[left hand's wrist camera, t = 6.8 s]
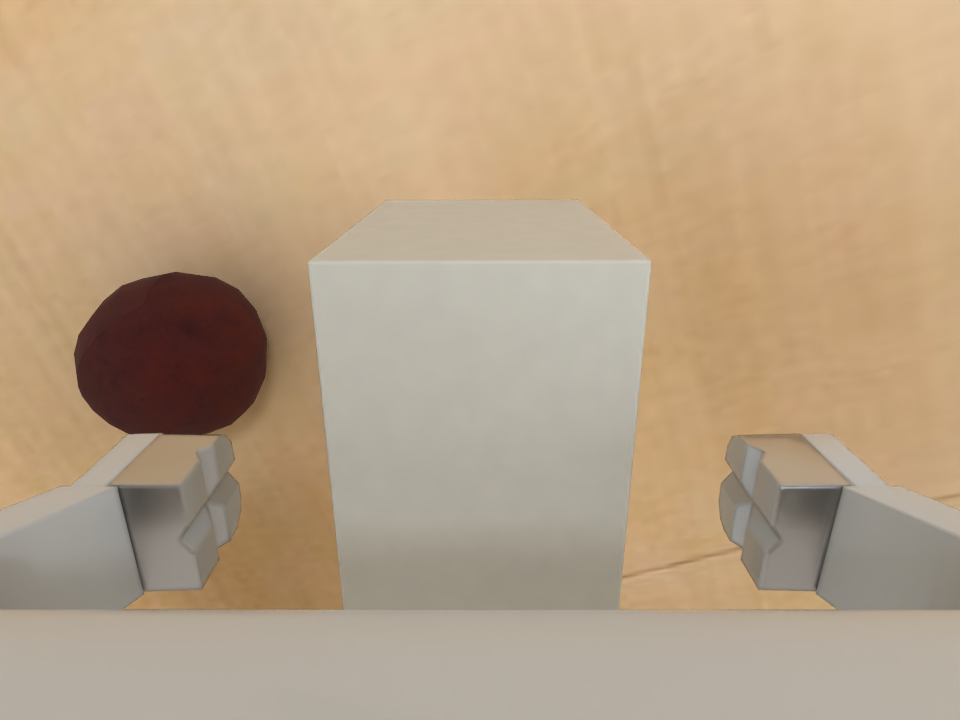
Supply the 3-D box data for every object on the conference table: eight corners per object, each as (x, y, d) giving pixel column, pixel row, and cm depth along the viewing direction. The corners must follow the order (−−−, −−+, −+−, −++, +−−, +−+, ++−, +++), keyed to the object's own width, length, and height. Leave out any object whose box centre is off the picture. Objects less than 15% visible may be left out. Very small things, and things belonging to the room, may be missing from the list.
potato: (105, 336, 31) (2, 396, 24) (194, 222, 29) (108, 252, 22) (227, 429, 33) (163, 506, 26) (319, 326, 31) (274, 383, 24)
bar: (385, 199, 17) (306, 261, 10) (579, 199, 17) (653, 260, 10) (423, 853, 27) (397, 1138, 20) (546, 854, 27) (569, 1140, 20)
